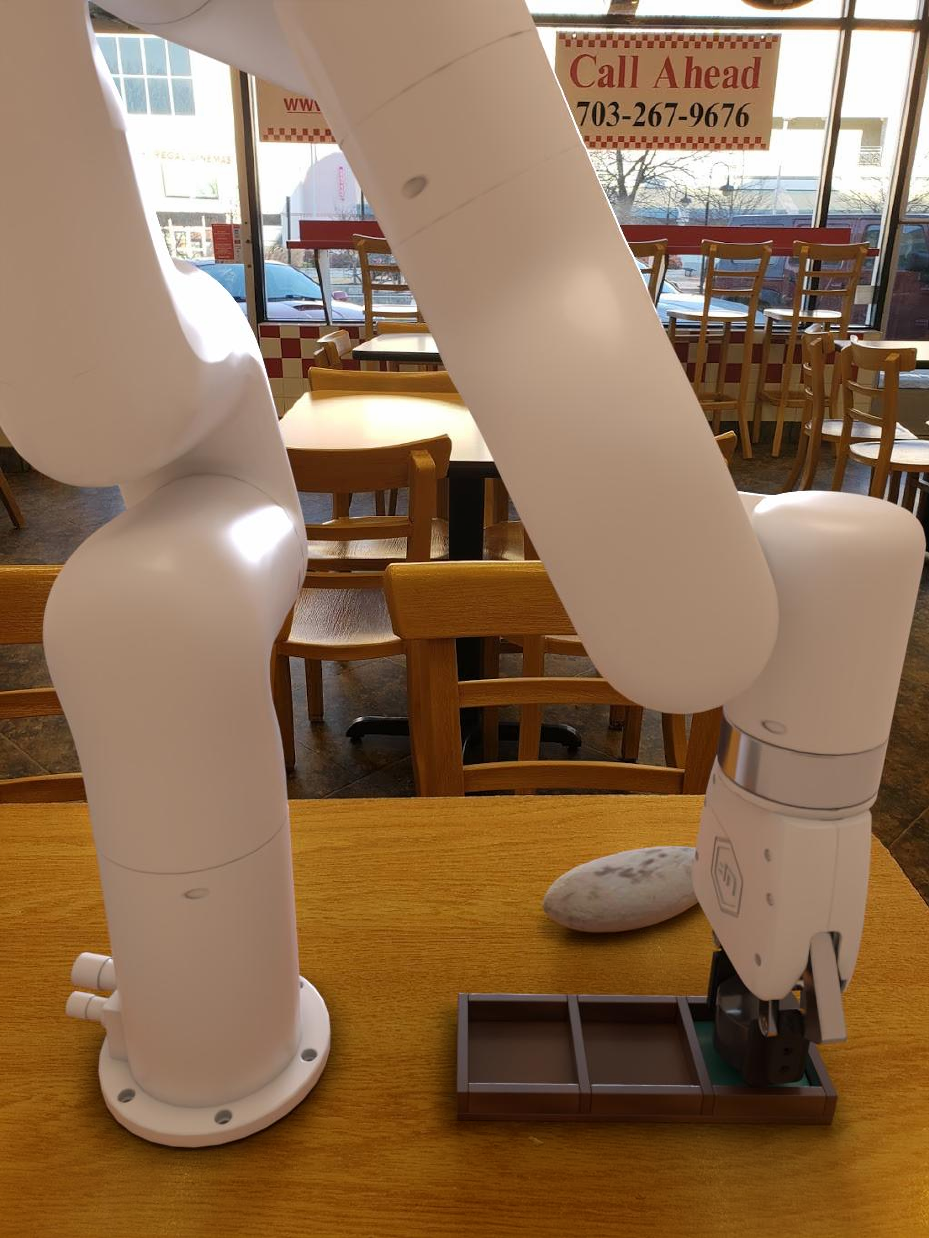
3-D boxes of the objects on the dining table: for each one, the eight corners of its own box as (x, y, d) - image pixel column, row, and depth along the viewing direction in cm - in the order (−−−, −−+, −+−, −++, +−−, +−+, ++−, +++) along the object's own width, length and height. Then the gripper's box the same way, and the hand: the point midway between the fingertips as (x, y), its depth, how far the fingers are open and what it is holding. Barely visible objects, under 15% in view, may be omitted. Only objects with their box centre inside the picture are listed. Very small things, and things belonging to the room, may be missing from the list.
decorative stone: (754, 899, 67) (760, 859, 66) (570, 966, 60) (573, 922, 59) (697, 853, 72) (702, 815, 71) (522, 910, 65) (524, 869, 64)
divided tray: (789, 1023, 56) (794, 996, 55) (832, 1124, 49) (838, 1096, 49) (457, 1019, 56) (457, 992, 55) (456, 1120, 49) (456, 1091, 49)
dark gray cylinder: (711, 1067, 50) (717, 1024, 49) (710, 1008, 54) (716, 967, 53) (797, 1084, 50) (805, 1040, 48) (790, 1022, 54) (797, 980, 52)
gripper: (667, 680, 53) (641, 943, 59) (804, 860, 37) (747, 1190, 44) (794, 675, 54) (754, 935, 60) (980, 849, 38) (899, 1173, 45)
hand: (752, 1039), depth 52 cm, fingers closed on dark gray cylinder, 4 cm apart
